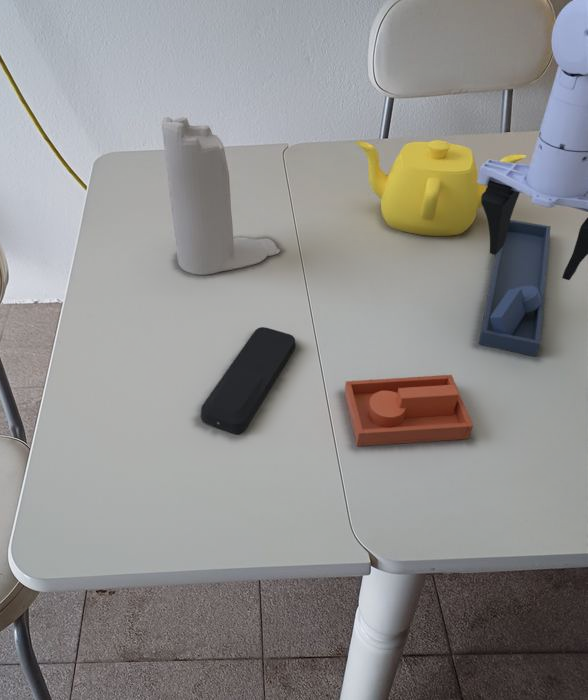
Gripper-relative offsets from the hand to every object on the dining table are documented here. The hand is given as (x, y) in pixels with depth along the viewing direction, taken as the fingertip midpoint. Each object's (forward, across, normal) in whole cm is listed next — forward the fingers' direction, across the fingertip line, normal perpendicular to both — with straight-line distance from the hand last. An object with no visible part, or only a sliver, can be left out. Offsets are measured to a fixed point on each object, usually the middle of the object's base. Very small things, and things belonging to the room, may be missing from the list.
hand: (531, 262), depth 68 cm
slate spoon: (+8, 0, +1) cm, 8 cm away
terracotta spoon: (+9, -3, -19) cm, 21 cm away
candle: (+10, -36, -7) cm, 38 cm away
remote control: (+10, -19, -24) cm, 32 cm away
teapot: (+10, -19, +16) cm, 26 cm away
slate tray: (+9, -2, +8) cm, 13 cm away
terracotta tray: (+9, -3, -19) cm, 21 cm away
